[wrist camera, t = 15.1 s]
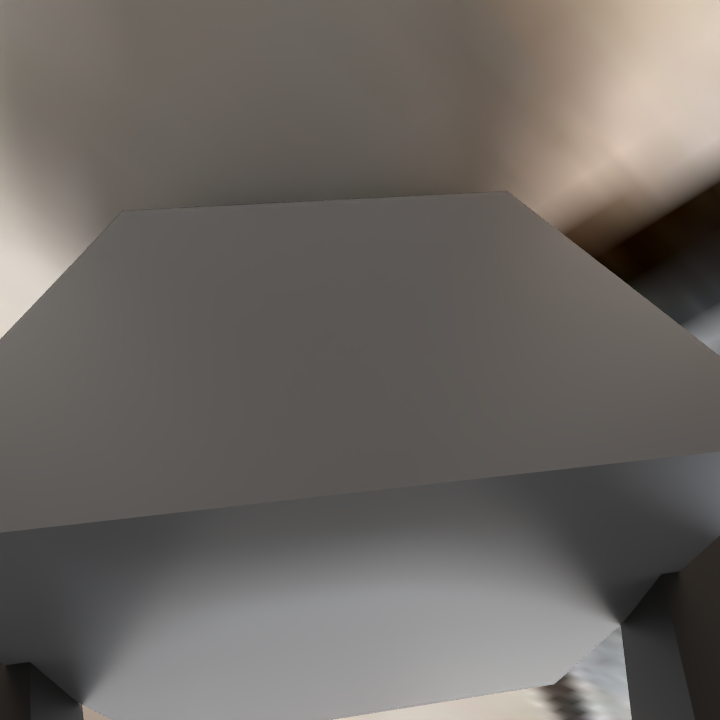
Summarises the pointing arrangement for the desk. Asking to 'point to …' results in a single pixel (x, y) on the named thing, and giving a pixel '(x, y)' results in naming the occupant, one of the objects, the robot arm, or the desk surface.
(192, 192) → the desk surface
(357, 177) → the desk surface
